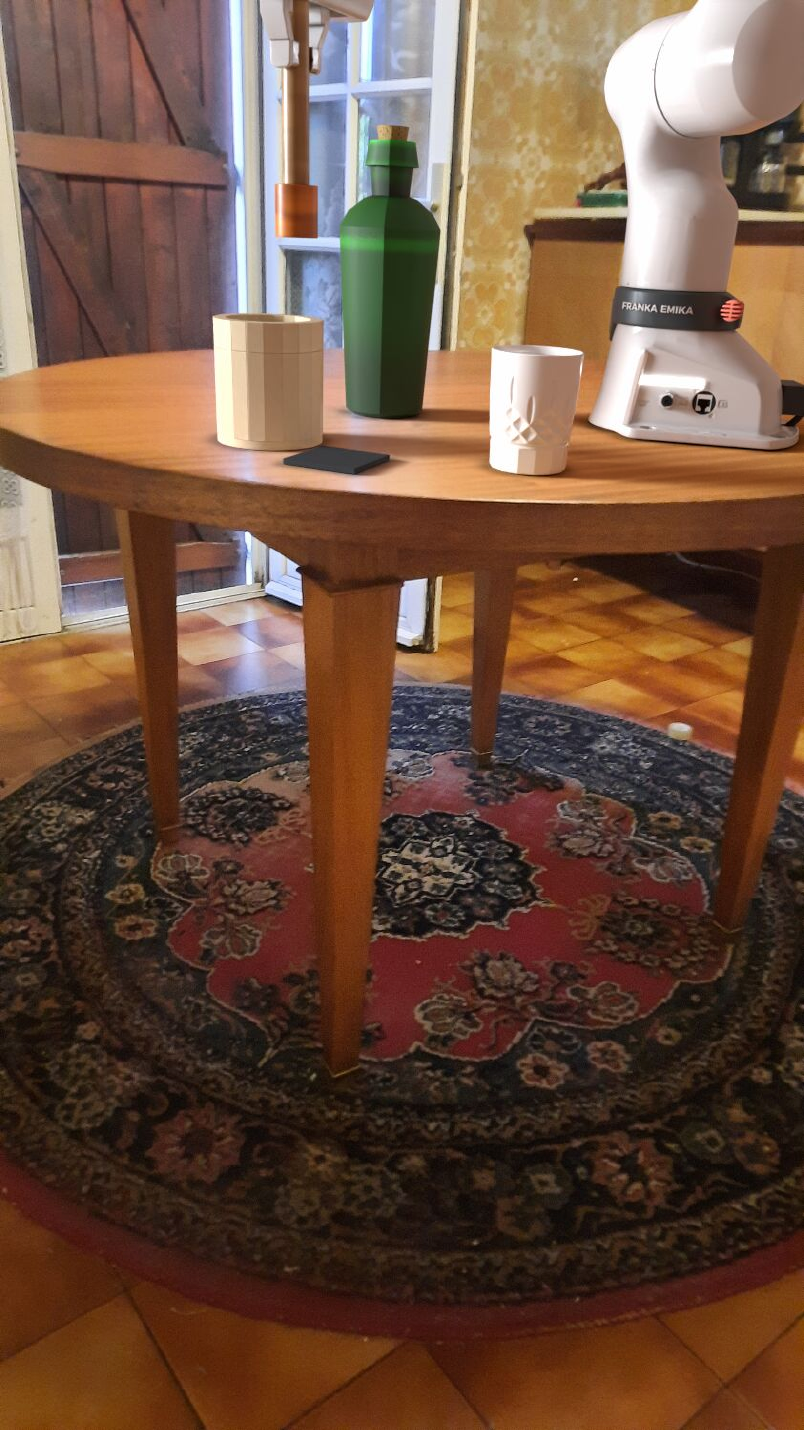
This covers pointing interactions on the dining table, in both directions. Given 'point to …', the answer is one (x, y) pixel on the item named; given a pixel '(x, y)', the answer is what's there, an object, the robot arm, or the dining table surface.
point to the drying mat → (337, 459)
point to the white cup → (532, 407)
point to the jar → (269, 380)
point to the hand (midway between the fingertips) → (296, 71)
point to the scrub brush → (296, 141)
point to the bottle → (388, 284)
